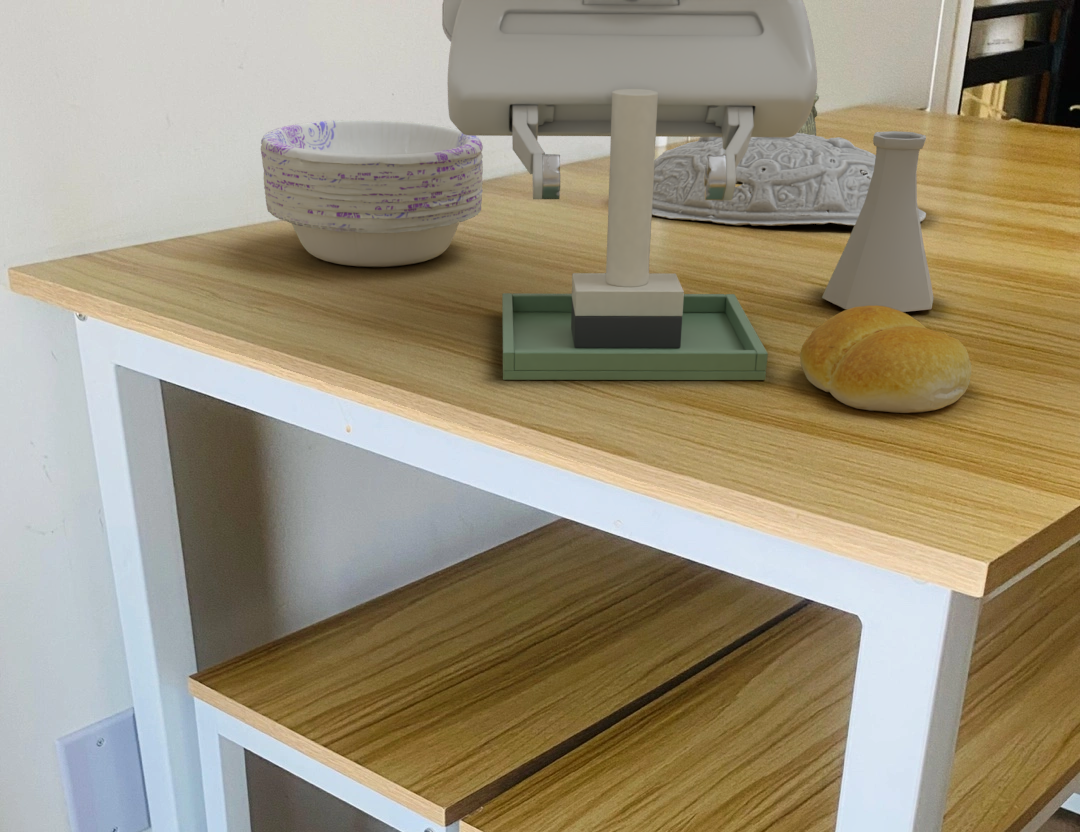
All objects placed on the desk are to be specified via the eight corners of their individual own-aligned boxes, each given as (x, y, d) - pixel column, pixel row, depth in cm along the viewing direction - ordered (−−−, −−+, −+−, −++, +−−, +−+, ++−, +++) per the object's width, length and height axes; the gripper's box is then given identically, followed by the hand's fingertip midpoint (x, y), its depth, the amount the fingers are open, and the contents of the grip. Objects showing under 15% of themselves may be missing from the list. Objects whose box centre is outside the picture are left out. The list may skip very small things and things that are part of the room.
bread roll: (870, 426, 68) (882, 346, 66) (775, 374, 75) (782, 300, 73) (1004, 406, 71) (1019, 328, 69) (900, 357, 78) (911, 286, 76)
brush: (672, 328, 81) (687, 87, 74) (680, 348, 77) (696, 97, 70) (570, 328, 80) (576, 86, 74) (574, 348, 77) (580, 96, 70)
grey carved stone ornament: (920, 230, 103) (930, 133, 100) (598, 224, 110) (599, 133, 107) (930, 212, 116) (939, 126, 113) (643, 208, 123) (645, 127, 120)
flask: (833, 317, 85) (854, 144, 80) (810, 287, 91) (827, 125, 86) (949, 317, 85) (977, 145, 80) (917, 287, 91) (942, 126, 86)
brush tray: (732, 318, 84) (734, 293, 84) (765, 380, 74) (768, 352, 73) (502, 317, 84) (502, 293, 83) (503, 380, 74) (502, 352, 73)
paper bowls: (502, 274, 93) (501, 149, 89) (276, 284, 90) (264, 155, 86) (464, 226, 106) (462, 115, 102) (265, 233, 103) (254, 119, 99)
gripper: (439, -69, 74) (438, 156, 71) (816, -65, 75) (831, 158, 71) (444, 16, 80) (443, 227, 77) (792, 19, 81) (805, 228, 77)
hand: (633, 194), depth 74 cm, fingers open, 8 cm apart
